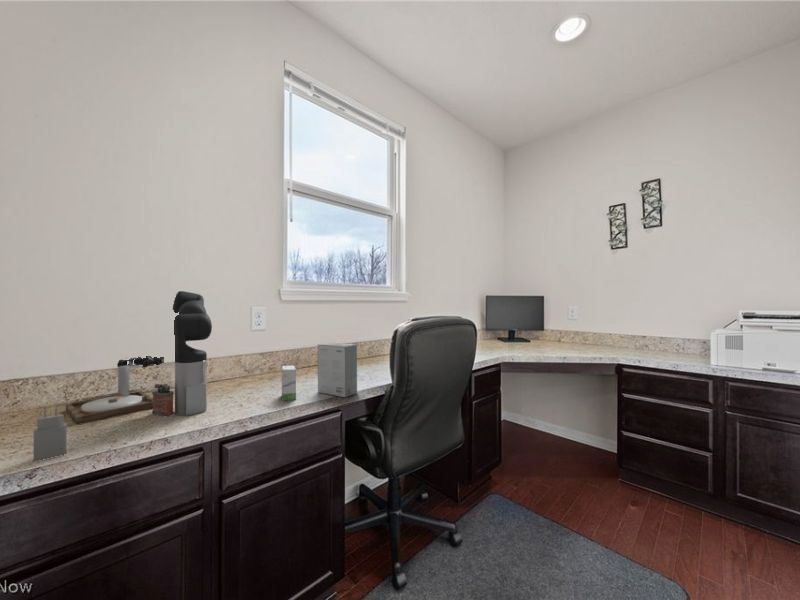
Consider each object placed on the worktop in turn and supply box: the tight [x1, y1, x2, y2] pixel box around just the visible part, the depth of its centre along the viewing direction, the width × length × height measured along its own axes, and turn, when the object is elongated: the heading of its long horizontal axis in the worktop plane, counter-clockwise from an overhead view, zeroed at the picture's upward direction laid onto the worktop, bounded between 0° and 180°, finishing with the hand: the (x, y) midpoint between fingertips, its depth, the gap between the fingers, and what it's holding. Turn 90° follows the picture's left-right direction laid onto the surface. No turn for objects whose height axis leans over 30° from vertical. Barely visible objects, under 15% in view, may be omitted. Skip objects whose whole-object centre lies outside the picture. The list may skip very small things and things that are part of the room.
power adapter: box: [32, 405, 68, 462], centre depth 80 cm, size 3×5×12 cm, turn 134°
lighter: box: [151, 383, 175, 417], centre depth 110 cm, size 8×3×10 cm, turn 71°
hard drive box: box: [317, 342, 358, 398], centre depth 135 cm, size 16×8×20 cm, turn 58°
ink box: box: [281, 365, 297, 402], centre depth 129 cm, size 8×5×12 cm, turn 22°
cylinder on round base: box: [81, 366, 142, 414], centre depth 115 cm, size 16×16×12 cm
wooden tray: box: [65, 390, 153, 426], centre depth 115 cm, size 21×21×2 cm
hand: (131, 364), depth 127 cm, fingers open, 8 cm apart
